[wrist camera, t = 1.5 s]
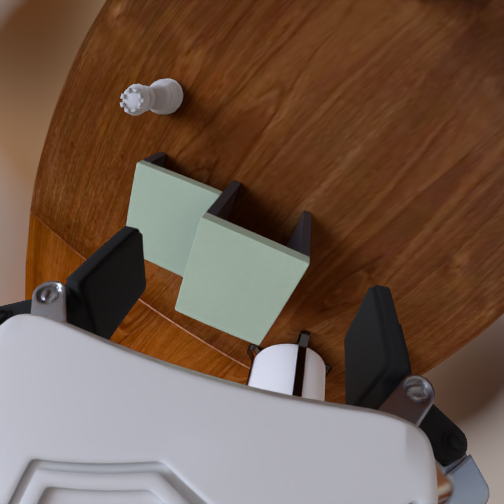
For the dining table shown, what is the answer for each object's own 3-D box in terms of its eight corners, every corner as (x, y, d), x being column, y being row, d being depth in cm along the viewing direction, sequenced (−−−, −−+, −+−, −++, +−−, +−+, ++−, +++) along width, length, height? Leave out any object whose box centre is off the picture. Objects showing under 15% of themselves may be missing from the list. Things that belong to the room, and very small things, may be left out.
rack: (160, 151, 33) (106, 177, 24) (311, 213, 34) (309, 264, 25) (143, 229, 40) (99, 272, 31) (272, 286, 40) (258, 345, 31)
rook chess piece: (165, 71, 28) (127, 70, 21) (192, 91, 29) (158, 93, 22) (145, 100, 30) (105, 107, 24) (170, 121, 31) (134, 131, 24)
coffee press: (236, 368, 52) (189, 517, 27) (264, 314, 43) (210, 516, 18) (318, 394, 52) (300, 537, 27) (363, 348, 43) (364, 531, 18)
